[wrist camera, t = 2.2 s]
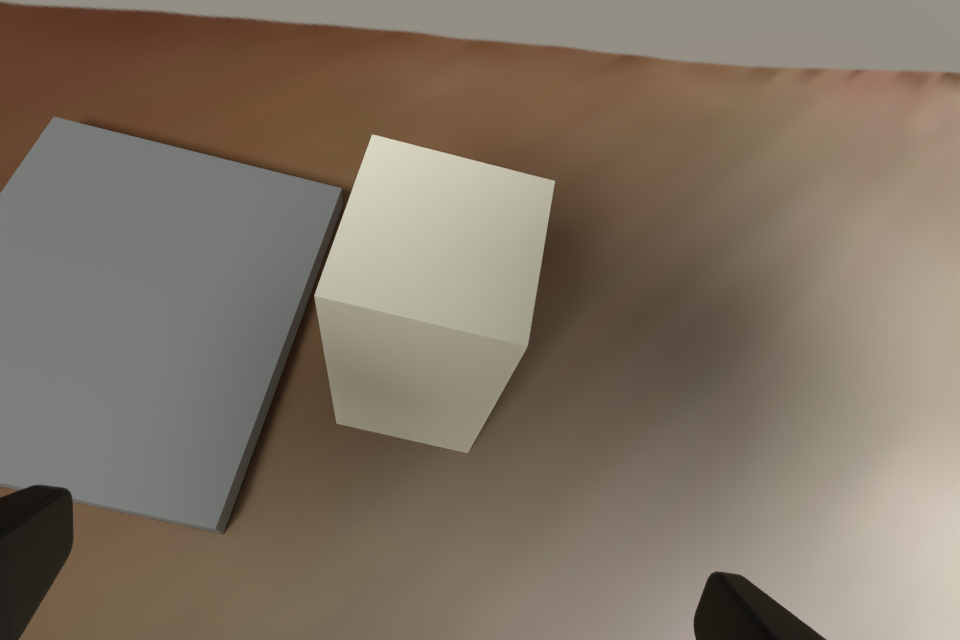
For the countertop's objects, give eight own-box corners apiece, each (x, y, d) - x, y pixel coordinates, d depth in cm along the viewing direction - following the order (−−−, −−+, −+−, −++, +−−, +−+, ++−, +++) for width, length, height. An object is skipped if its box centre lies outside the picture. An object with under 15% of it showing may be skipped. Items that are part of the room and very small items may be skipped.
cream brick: (490, 336, 25) (554, 181, 17) (467, 453, 23) (527, 346, 14) (371, 307, 25) (371, 134, 16) (336, 423, 23) (314, 295, 14)
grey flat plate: (342, 205, 27) (341, 188, 26) (223, 534, 21) (215, 529, 19) (66, 137, 26) (53, 116, 25) (-147, 454, 20) (-176, 445, 19)
